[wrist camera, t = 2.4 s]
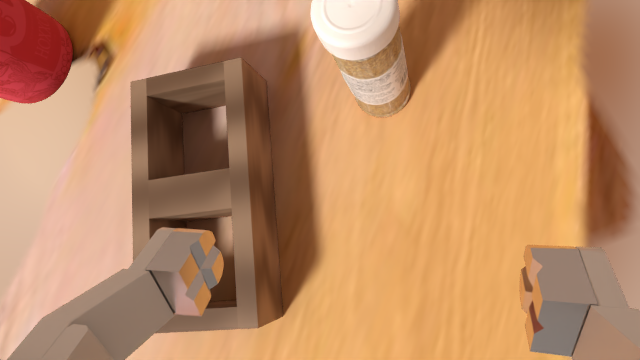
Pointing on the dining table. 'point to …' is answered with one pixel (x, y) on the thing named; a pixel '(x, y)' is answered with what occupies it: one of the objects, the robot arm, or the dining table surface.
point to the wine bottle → (31, 53)
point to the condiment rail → (210, 183)
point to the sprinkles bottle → (366, 50)
